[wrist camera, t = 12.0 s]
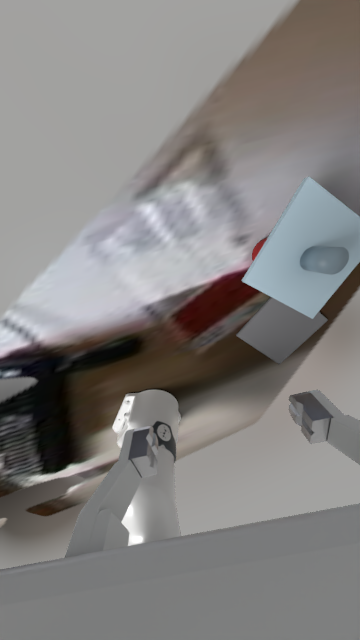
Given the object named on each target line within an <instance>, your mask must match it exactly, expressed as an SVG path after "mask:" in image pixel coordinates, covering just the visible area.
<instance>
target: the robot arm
mask: <svg viewBox="0 0 360 640" xmlns="http://www.w3.org/2000/svg"><path fill="white" fill-rule="evenodd" d="M289 401H290V402H291V404H290V405H289V411H290V414H291V416H292V418H293V420H294V421H295V423H296V424H298V425H300V426H301V427H302V428H301V431H302V433H303V434H304V436H305V437H306V439H307V440H308V441H309V443H310V444H312V443H318V442H324V441H327V442H328V443H329V444H331V445H332V446H334V447H335V448H336V449H338V450H339V451H341V452H342V453H344V454H345V455H346V456H348V457H349V458H351V459H352V460H354V461H355V462H356V463H358V464H359V465H360V420H358V419H355V418H353V417H351V416H349V415H344V414H343V413H342V412H341V411H340V410H339V409H338V408H337V407H336V406H335V405H334V404H333V403H332V402H331V401H329V399H328V398H327V397H326V396H325V395H324V394H323V393H321V392H320V391H319V390H313V391H309V392H303V393H299V394H295V395H291V396H290V397H289ZM178 407H179V406H178V402H177V400H176V398H175V397H174V396H173V395H171V394H170V393H168V392H165V391H162V390H146V391H143V392H140V393H129V394H127V395H126V396H125V398H124V400H123V403H122V405H121V407H120V410H119V412H118V414H117V416H116V419H115V421H114V423H113V427H112V428H113V430H114V431H115V432H116V433H118V438H117V444H118V446H119V447H120V448H121V452H120V456H119V460H118V462H116V463H115V464H114V466H113V467H112V468H111V470H110V471H109V473H108V474H107V475H106V477H105V478H104V480H103V481H102V482H101V484H100V485H99V487H98V488H97V489H96V491H95V492H94V494H93V495H92V496H91V498H90V499H89V501H88V502H87V503H86V505H85V507H84V508H83V509H82V510H81V512H80V513H79V516H78V519H77V522H76V526H75V528H74V531H73V534H72V537H71V540H70V543H69V546H68V549H67V553H66V555H65V558H60V559H55V560H49V561H44V562H39V563H34V564H28V565H23V566H18V567H12V568H6V569H0V640H360V503H359V504H354V505H348V506H343V507H337V508H332V509H327V510H321V511H316V512H310V513H305V514H299V515H294V516H288V517H283V518H278V519H272V520H267V521H261V522H256V523H250V524H245V525H239V526H234V527H229V528H224V529H218V530H212V531H207V532H202V533H196V534H191V535H185V536H181V532H180V527H179V522H178V515H177V508H176V497H175V472H174V463H175V461H176V443H177V441H178V422H180V421H181V415H180V413H179V411H178Z"/></svg>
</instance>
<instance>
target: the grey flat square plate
mask: <svg viewBox="0 0 360 640" xmlns="http://www.w3.org/2000/svg"><path fill="white" fill-rule="evenodd" d="M327 320H328V319H326V318H325V317H324V316H323V315H322V314H321V313H320V312H318V313H317V314H316V315H315V317H314V318H313V319H312V318H310V317H308V316H306V315H304V314H302V313H300V312H298V311H297V310H295V309H293V308H291V307H289V306H287V305H285V304H284V303H282V302H280V301H278V300H276V299H274V298H272V297H270V298H269V300H268V301H267V302H266V303H265V304H264V305H263V306H262V307H261V308H260V309H259V310H258V312H257V313H256V314H255V315H254V316H253V317H252V318H251V319H250V320H249V321H248V322H247V324H246V325H245V326H244V327H243V328H242V329H241V330H240V331H239V332H238V333H237V334H236V336H238V337H239V338H241V339H242V340H244V341H245V342H247V343H248V344H250V345H251V346H253V347H254V348H256V349H257V350H259V351H260V352H262V353H263V354H265V355H266V356H268V357H269V358H271V359H272V360H274V361H275V362H277V363H278V364H280V363H282V362H283V361H284V360H285V359H286V358H287V357H288V356H289V355H290V354H291V353H292V352H294V351H295V350H296V349H297V348H298V347H299V346H300V345H301V344H302V343H303V342H304V341H306V340H307V339H308V338H309V337H310V336H311V335H312V334H313V333H314V332H315V331H316V330H318V329H319V328H320V327H321V326H322V325H323V324H324V323H325V322H326V321H327Z"/></svg>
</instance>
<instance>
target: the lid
mask: <svg viewBox="0 0 360 640" xmlns="http://www.w3.org/2000/svg"><path fill="white" fill-rule="evenodd" d="M359 262H360V216H358V215H357V214H356V213H354V212H353V211H352V210H351V209H349V208H348V207H347V206H346V205H344V204H343V203H342V202H341V201H339V200H338V199H337V198H336V197H334V196H333V195H332V194H330V193H329V192H328V191H327V190H325V189H324V188H323V187H322V186H320V185H319V184H318V183H317V182H315V181H314V180H313V179H312V178H310V177H307V178H304V180H303V181H302V183H301V185H300V186H299V188H298V189H297V191H296V193H295V194H294V196H293V198H292V199H291V201H290V202H289V204H288V206H287V207H286V209H285V211H284V212H283V214H282V216H281V217H280V219H279V220H278V222H277V224H276V225H275V227H274V229H273V230H272V232H271V233H270V235H269V237H268V238H267V240H266V242H265V243H264V245H263V247H262V248H261V250H260V251H259V253H258V255H257V256H256V258H255V260H254V261H253V263H252V264H251V266H250V268H249V269H248V271H247V273H246V274H245V276H244V278H243V279H242V282H244V283H246V284H248V285H250V286H252V287H254V288H256V289H257V290H259V291H261V292H263V293H265V294H267V295H269V296H270V297H272V298H274V299H276V300H278V301H280V302H282V303H284V304H285V305H287V306H289V307H291V308H293V309H295V310H297V311H298V312H300V313H302V314H304V315H306V316H308V317H310V318H312V319H313V318H314V317H315V315H316V314H317V313H318V312H319V311H320V309H321V308H322V307H323V306H324V304H325V303H326V302H327V301H328V300H329V298H330V297H331V296H332V295H333V293H334V292H335V291H336V290H337V289H338V287H339V286H340V285H341V284H342V282H343V281H344V280H345V279H346V278H347V276H348V275H349V274H350V273H351V272H352V270H353V269H354V268H355V267H356V265H357V264H358V263H359Z"/></svg>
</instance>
